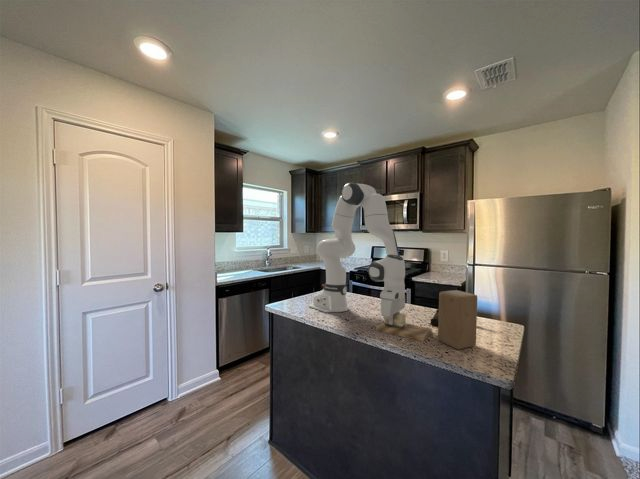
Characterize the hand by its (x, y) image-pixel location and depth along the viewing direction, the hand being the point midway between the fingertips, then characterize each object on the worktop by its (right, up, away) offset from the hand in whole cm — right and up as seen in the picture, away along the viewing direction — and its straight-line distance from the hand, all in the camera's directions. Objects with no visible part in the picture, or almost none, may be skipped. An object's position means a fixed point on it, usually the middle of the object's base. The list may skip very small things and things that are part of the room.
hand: (393, 322), depth 122 cm
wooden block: (+20, -4, -15) cm, 26 cm away
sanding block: (+1, -1, 0) cm, 1 cm away
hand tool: (+25, -3, +13) cm, 28 cm away
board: (+4, -3, -3) cm, 5 cm away
